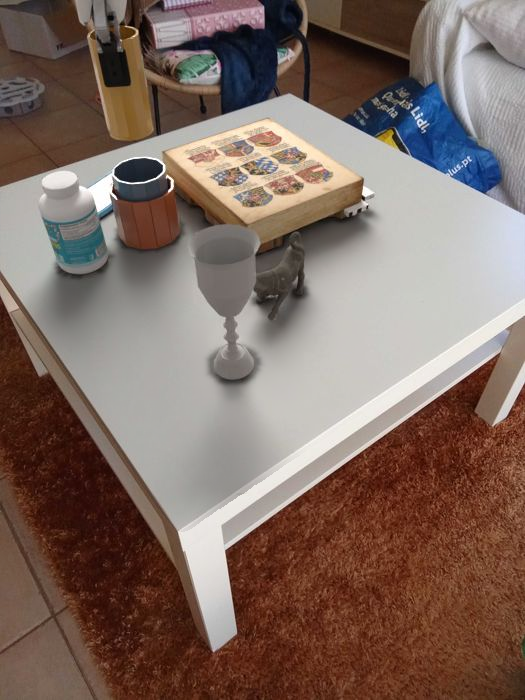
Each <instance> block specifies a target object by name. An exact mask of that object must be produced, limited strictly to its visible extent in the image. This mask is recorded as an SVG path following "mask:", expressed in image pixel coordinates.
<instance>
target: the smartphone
mask: <svg viewBox="0 0 525 700" xmlns="http://www.w3.org/2000/svg"><path fill="white" fill-rule="evenodd" d="M111 175H112V170H111V171H109V172H108V173H106V174H105V175H103V176H102V177H101V178H99V179H97V180H96V181H94V182H93V183H92V184H90V185H88V186H87V187H85V188H86V189H88V190H89V191H90V192H91V194H92V195H93V197H94V201H95V204H96V208H97V212H98V216H99V220H100V219H101V218H103V217H104V216H105V215H107V214H108V213H110V212H111V211H112V210H113V207H112V203H111V198H110V194H109V191H110V184H111V183H112V182H113V180H112V176H111Z"/></svg>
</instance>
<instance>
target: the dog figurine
mask: <svg viewBox="0 0 525 700" xmlns="http://www.w3.org/2000/svg"><path fill="white" fill-rule="evenodd" d="M302 241H303V237H302V235H301V233H300V232H299V231H293V233H291V234H290V236H289V245H290V246H288V247H287V248H286V249H285V251H284V253H283V258H282V259H281V261H280V262H279V264H278V266H276V267H274V268H272V269H269V270H266V271H262V272H258V273H256V283H255V286H254V288H253V292H254V293H255V294H256V296H257V297H256V298H255V301H256V302H257V303H262V302H263V301H264V300H266V298H267V297H269V296H273V297H276V296H277V298H276V300H275V303H274V304H273V306H272V307H271V310H270V312H269V313H268V314H267V316H266V317H267V319H268V320H269V321H271V322H273V321H275V320H276V315H277V314H278V313H279V309H280V307H281V305H282V303H284V300H285V299H286V298H287V296H288V295H289V294H290V292H291V290H292V288H293V283H294V282H295V281H296V279H297V282H296V287H295V294H296V295H300V296H301V295H302V294H303V293H304V289H303V288H304V284H305V276H306V275H305V256H306V251H305V249H304V245H303V243H302Z"/></svg>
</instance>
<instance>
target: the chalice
mask: <svg viewBox="0 0 525 700" xmlns="http://www.w3.org/2000/svg"><path fill="white" fill-rule="evenodd" d="M259 246H260V239H259V237H258V235H257V234H256V233H255V232H254V231H252V230H250V229H249V228H247V227H243V226H240V225H231V224H224V225H215V226H214V225H212V226H207V227H205V228H203V229H201V230H199V231H197V232H196V233H194V234H193V235H192V236H191V237H190V239H189V240H188V242H187V251H188V252H189V254H190V256H191V257H192V259H194V267H195V274H196V281H197V287H198V289H199V290H200V292H201V294H202V295H203V297H204V299H205V300H206V303H208V305H209V306H210V307H211V308H212V309H213V310H214V311H215V312H216V313H217V315H219V316H220V317H223V318H225V321H224V322H223V328H224V329H225V330H226V332H225V333H224V334H223V339H224V340H225V341H226V342H227V343H226V344H224V345H222V347H221V348H219V350H218V351H217V354H216V356H215V358H214V360H213V363H212V367H213V371H214V372H215V374H216V375H218V376H219V377H221V378H222V379H226V380H230V381H231V380H240V379H242V378H246V377H247V376H248V375H250V374H251V373H252V371H253V370H254V367H255V360H254V358H253V356H252V355H251V353H250V352H249V350H248V349H247V347H245V346H244V345H243V344H240V343H238V342H237V341H238V339H239V338H240V334H239V333H238V331H236V329H237V328H238V325H239V323H238V322H237V321H236V319H235V317H237V316H239V315H240V314H241V313H242V311H243V310H244V308H245V306H246V305H247V303H248V301H250V298H251V296H252V293H253V292H254V290H253V288H254V286H255V283H256V274H257V267H256V264H257V263H256V255H257V254H256V252H257V250H258V248H259Z"/></svg>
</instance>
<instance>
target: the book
mask: <svg viewBox="0 0 525 700" xmlns="http://www.w3.org/2000/svg"><path fill="white" fill-rule="evenodd" d="M161 155H162V161H163V162H162V163H164V164H165V166H166V172H167V175H168V176H170V177H171V178H172V179H173V180H174V187H175V193H176V194H177V195H178V196H179V197H181V198H182V199H183V200H184V201H185V202H187V203H188V204H189V205H190V206H197V207H201V208H202V209H203V211H204V214H205V215H204V216H205V219H206V221H208V223H209V224H210V225H212V226H215V225H224V224H231V225H240V226H243V227H247V228H249V229H250V230H252V231H254V232H255V233H256V234H257V235H258V237H259V239H260V246H259V248H258V250H257V252H256V254H255V255H258V254H260V253H264V252H266V251H269V250H273V249H274V248H277V247H281V246H282V245H283V236H285V235H287V234H289V233H291V232H295V231H296V230H298V229H300V228H304V227H305V226H308V225H311V224H313V223H315V222H318V221H319V220H322V219H326V218H327V217H331V218H332V217H334V218H337V219H339V220H342V219H345V218H346V217H347V218H350V217H353V216H356V215H358V214H360V213H362V212H364V211H367V210H369V207H370V205H369V203H367V202H366V201H370V200H371V199H373V198H375V191H372V190H371V189H369V188H368V187H366V186H364V183H365V177H362V176H361V175H360V174H358V173H356V172H354V171H353V170H352V169H350V168H349V167H347V166H345V165H344V164H342V163H340V162H339V161H338V160H336V159H335V158H333V157H331V156H329V155H328V154H326V153H325V152H324V151H322V150H321V149H319V148H317V147H316V146H314V145H313V144H311V143H309V142H308V141H307V140H305V139H303V138H301V136H298V135H297V134H295V133H294V132H292V131H291V130H289V129H287V128H286V127H284V126H283V125H281V124H280V123H278V122H277V121H275V120H273V119H272V118H270V117H266V118H262V119H259V120H256V121H253V122H249V123H247V124H244V125H241V126H237V127H233V128H231V129H228V130H225V131H222V132H219V133H216V134H213V135H210V136H207V137H203V138H200V139H197V140H194V141H190V142H188V143H185V144H182V145H178V146H175V147H172V148H169V149H165V150H162V151H161Z"/></svg>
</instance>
